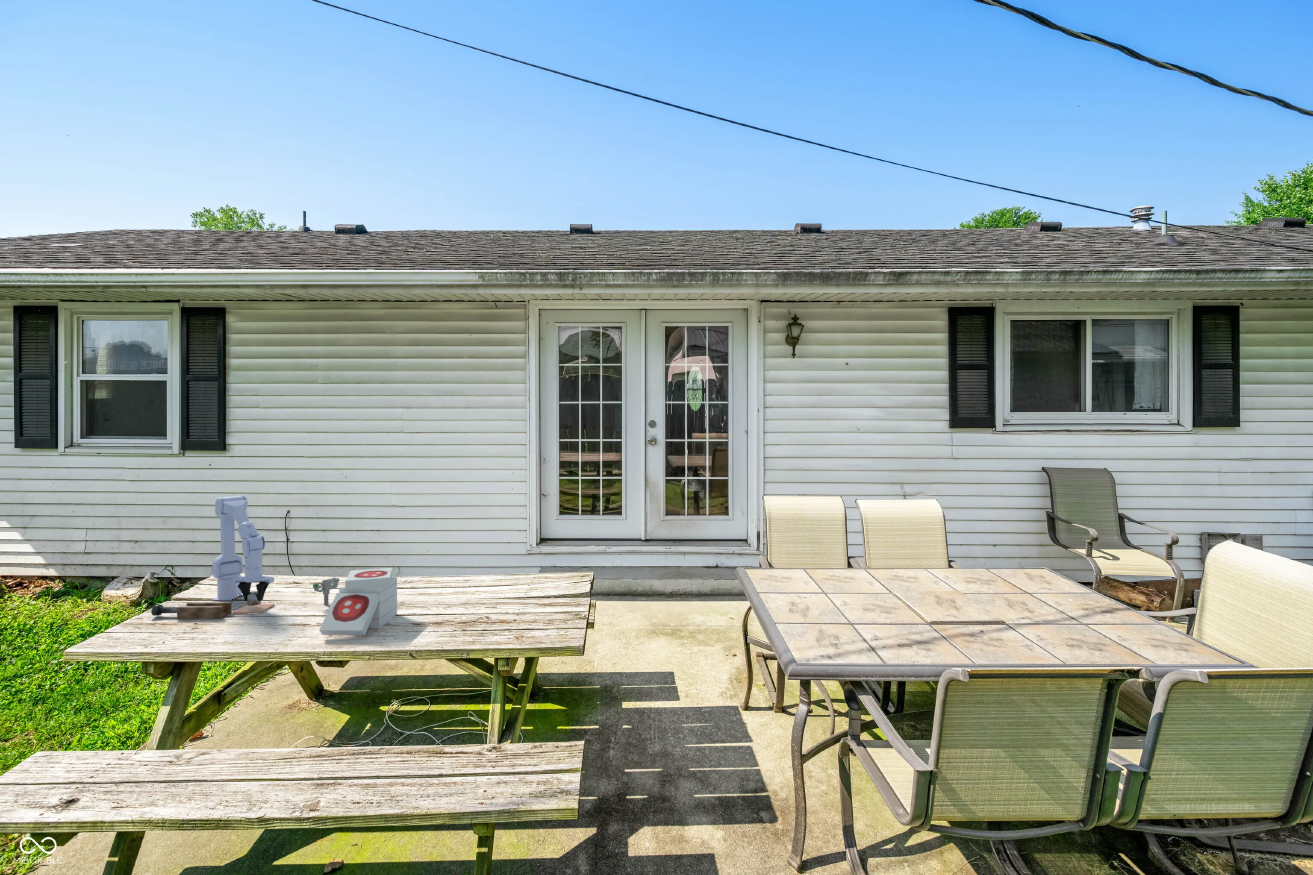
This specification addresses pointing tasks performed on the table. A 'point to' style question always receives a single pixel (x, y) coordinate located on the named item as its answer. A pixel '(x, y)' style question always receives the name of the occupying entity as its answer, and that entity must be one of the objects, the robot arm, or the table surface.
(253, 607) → the terracotta tile
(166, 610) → the shaft
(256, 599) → the block
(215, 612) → the shaft housing
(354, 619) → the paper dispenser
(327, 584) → the mechanical component
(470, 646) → the table surface
